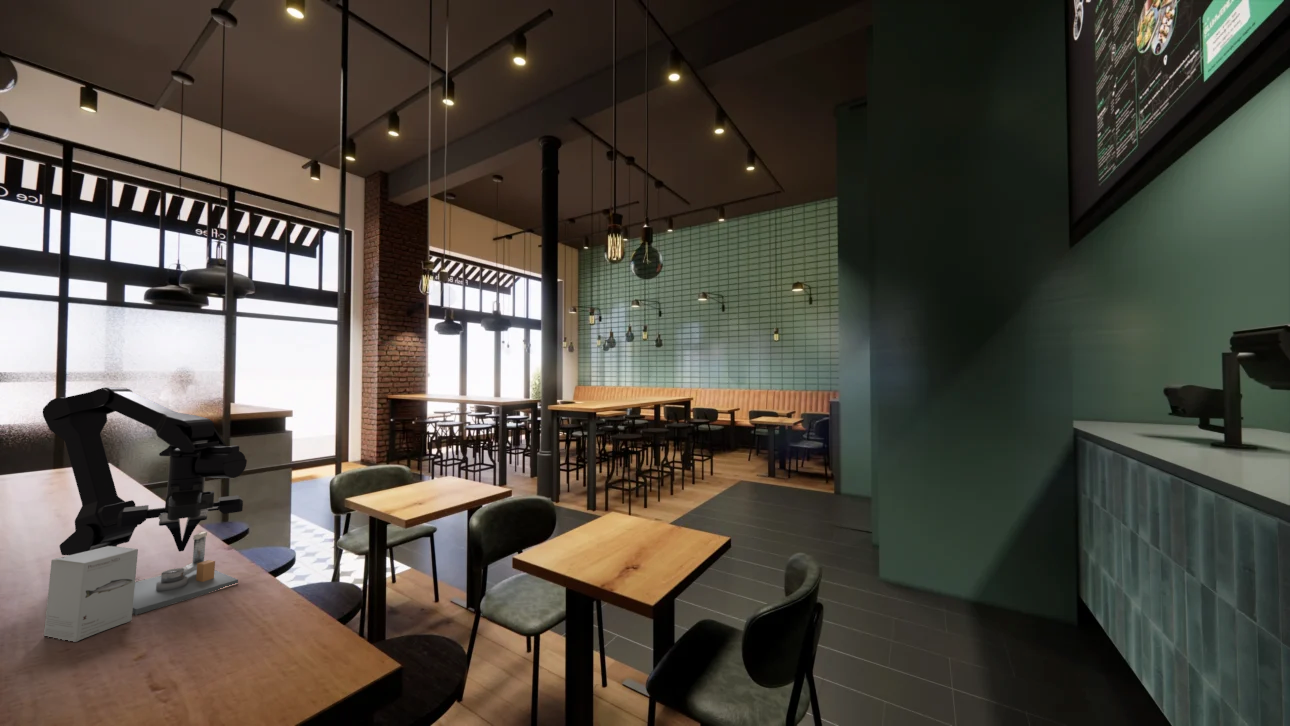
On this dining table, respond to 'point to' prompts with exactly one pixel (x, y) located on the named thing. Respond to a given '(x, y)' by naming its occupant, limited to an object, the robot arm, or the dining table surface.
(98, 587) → the supplement box
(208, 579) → the crank bed
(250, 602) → the dining table surface
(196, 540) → the crank
